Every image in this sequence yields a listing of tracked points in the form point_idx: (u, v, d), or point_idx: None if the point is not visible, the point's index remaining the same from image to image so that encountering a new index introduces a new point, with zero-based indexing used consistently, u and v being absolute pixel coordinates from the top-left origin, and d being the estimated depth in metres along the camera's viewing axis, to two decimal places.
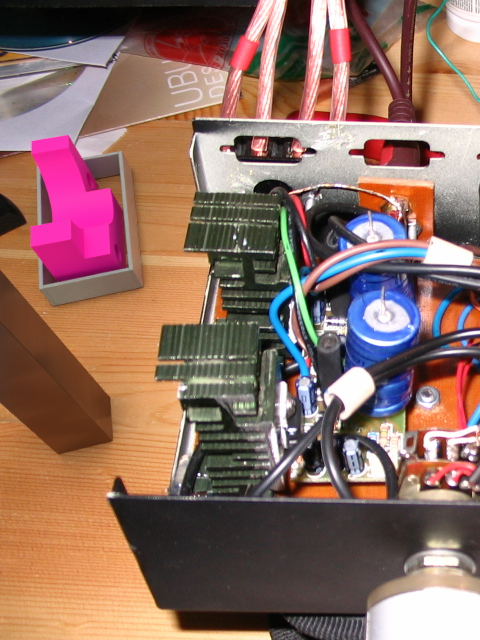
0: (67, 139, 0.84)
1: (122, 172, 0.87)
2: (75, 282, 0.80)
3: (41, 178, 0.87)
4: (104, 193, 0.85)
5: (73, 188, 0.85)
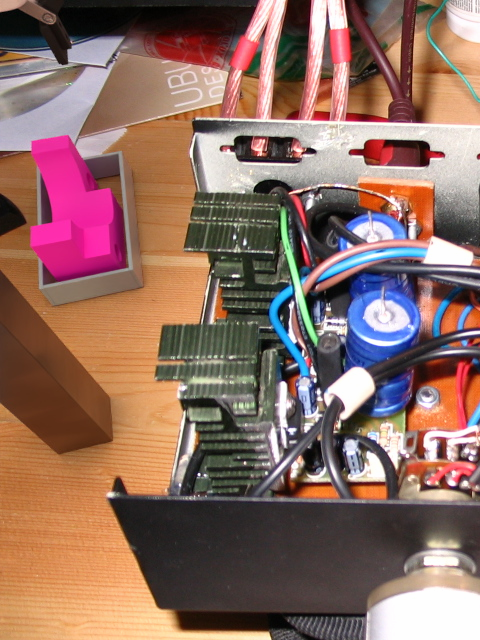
0: (67, 139, 0.84)
1: (122, 172, 0.87)
2: (75, 282, 0.80)
3: (41, 178, 0.87)
4: (104, 193, 0.85)
5: (73, 187, 0.85)
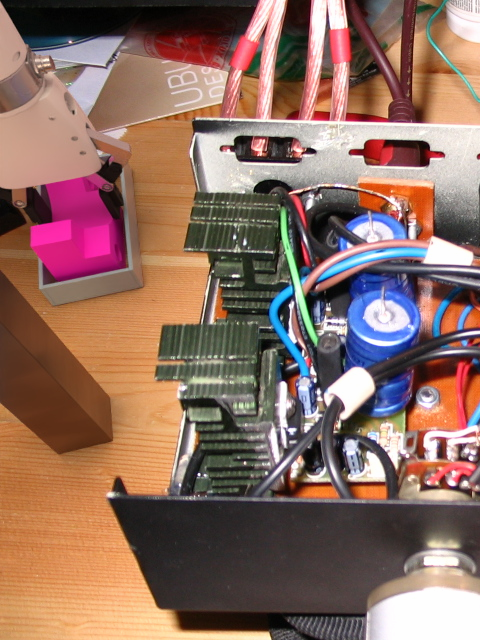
0: None
1: (122, 172, 0.87)
2: (75, 282, 0.80)
3: None
4: None
5: (73, 188, 0.85)
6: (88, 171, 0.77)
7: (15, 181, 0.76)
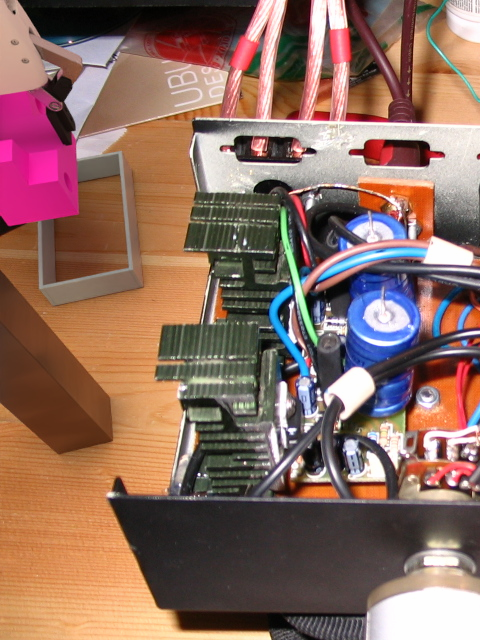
0: None
1: (122, 172, 0.87)
2: (75, 282, 0.80)
3: None
4: None
5: (19, 110, 0.76)
6: (32, 84, 0.68)
7: None
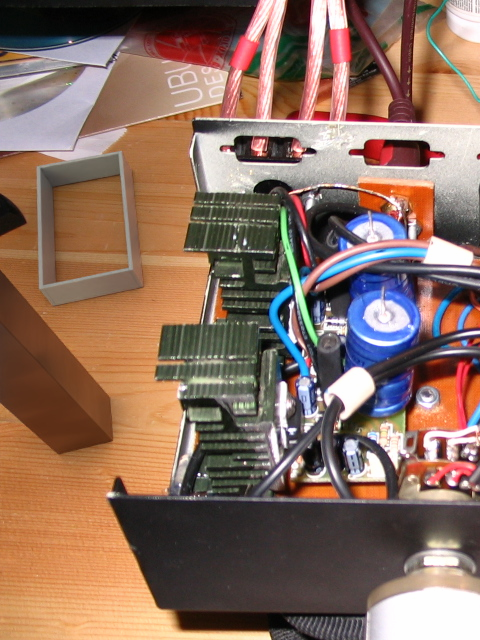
0: None
1: (122, 172, 0.87)
2: (75, 282, 0.80)
3: (41, 178, 0.87)
4: None
5: None
6: None
7: None
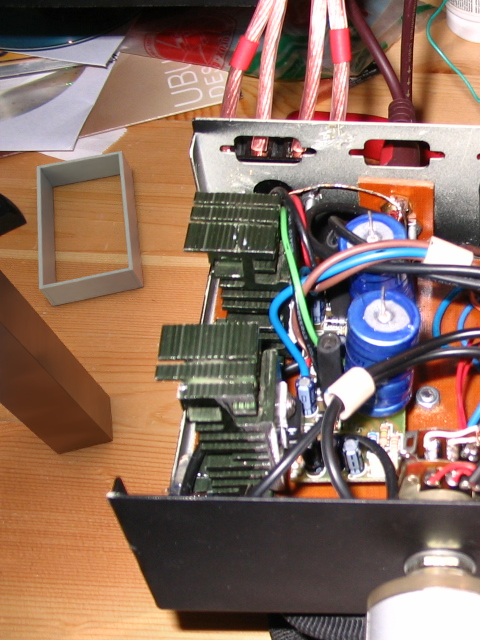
0: None
1: (122, 172, 0.87)
2: (75, 282, 0.80)
3: (41, 178, 0.87)
4: None
5: None
6: None
7: None
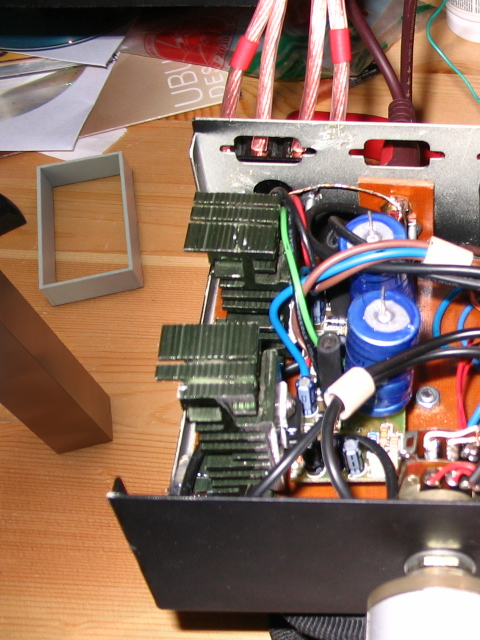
0: None
1: (122, 172, 0.87)
2: (75, 282, 0.80)
3: (41, 178, 0.87)
4: None
5: None
6: None
7: None
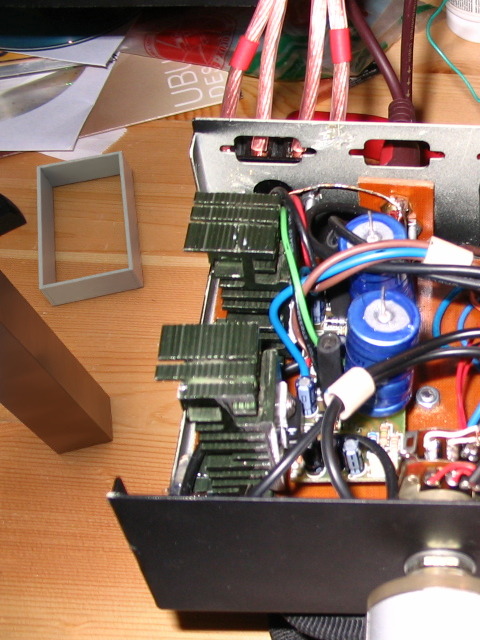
0: None
1: (122, 172, 0.87)
2: (75, 282, 0.80)
3: (41, 178, 0.87)
4: None
5: None
6: None
7: None
